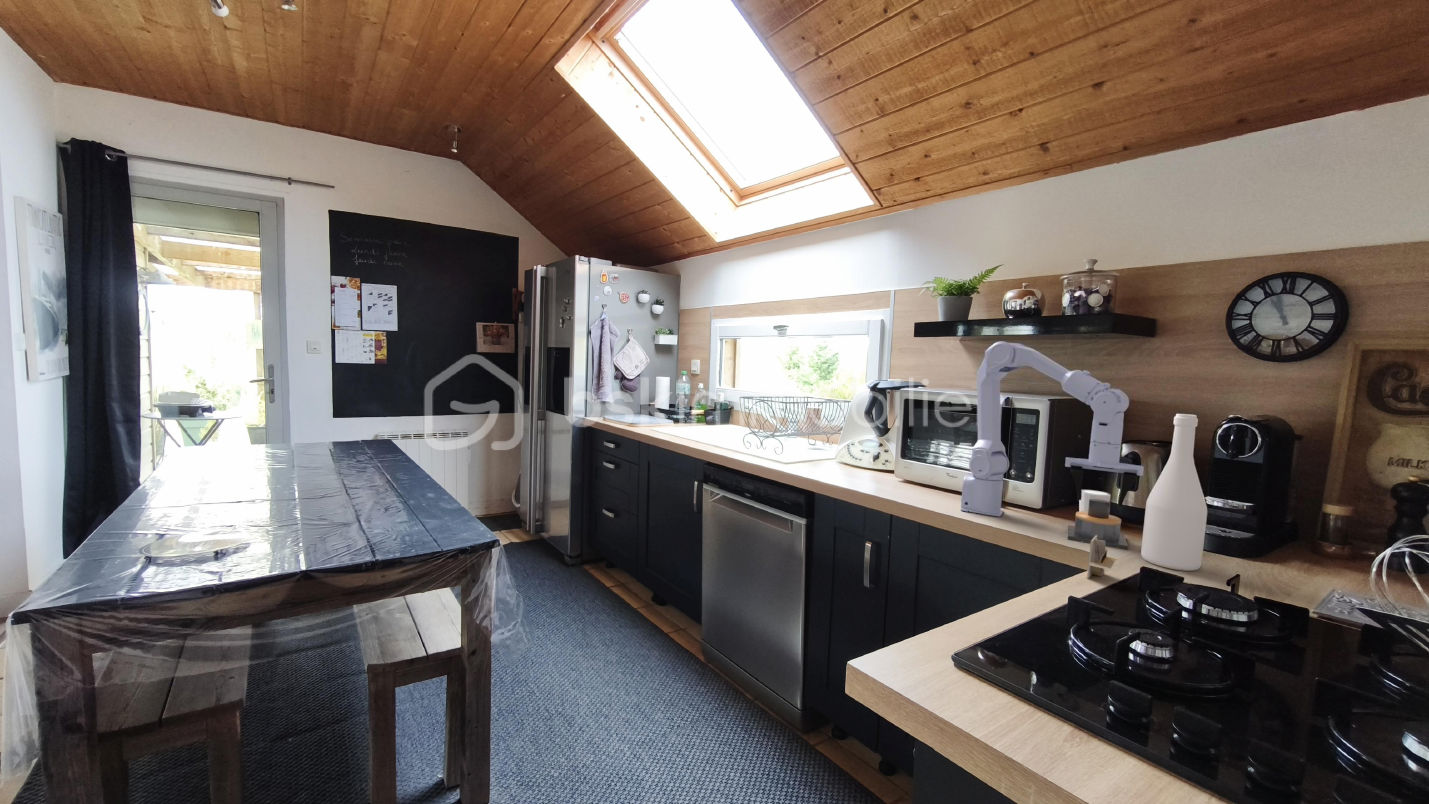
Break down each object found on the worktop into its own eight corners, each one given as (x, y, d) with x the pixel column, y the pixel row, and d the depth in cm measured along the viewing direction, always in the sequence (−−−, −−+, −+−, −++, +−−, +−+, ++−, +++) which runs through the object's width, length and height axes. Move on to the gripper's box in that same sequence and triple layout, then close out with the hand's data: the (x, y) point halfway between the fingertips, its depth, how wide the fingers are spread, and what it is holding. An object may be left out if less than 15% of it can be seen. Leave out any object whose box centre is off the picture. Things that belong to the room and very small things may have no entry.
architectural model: (1113, 578, 108) (1118, 539, 107) (1108, 588, 103) (1112, 547, 102) (1092, 573, 110) (1096, 534, 109) (1085, 582, 105) (1089, 542, 104)
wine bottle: (1173, 572, 111) (1190, 416, 109) (1128, 555, 120) (1144, 411, 118) (1213, 571, 113) (1231, 417, 111) (1166, 555, 122) (1182, 412, 120)
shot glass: (1098, 516, 153) (1101, 490, 153) (1114, 523, 147) (1116, 496, 146) (1071, 514, 154) (1073, 488, 153) (1085, 521, 147) (1087, 494, 147)
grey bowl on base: (1067, 539, 130) (1069, 520, 130) (1067, 528, 140) (1069, 510, 139) (1127, 549, 125) (1129, 529, 124) (1123, 537, 134) (1125, 519, 134)
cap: (1074, 531, 131) (1077, 501, 130) (1074, 522, 138) (1076, 494, 137) (1121, 538, 126) (1124, 508, 126) (1118, 529, 134) (1121, 500, 133)
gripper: (1067, 440, 131) (1061, 500, 132) (1147, 448, 123) (1140, 511, 125) (1067, 437, 137) (1062, 494, 138) (1143, 445, 130) (1137, 505, 131)
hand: (1099, 502), depth 132 cm, fingers open, 7 cm apart
